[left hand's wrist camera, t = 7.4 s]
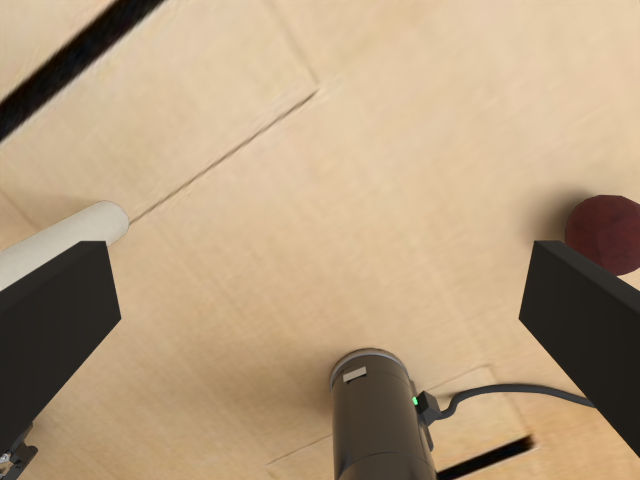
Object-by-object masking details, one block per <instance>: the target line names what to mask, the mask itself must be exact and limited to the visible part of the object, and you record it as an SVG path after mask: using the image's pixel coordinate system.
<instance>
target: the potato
mask: <svg viewBox="0 0 640 480" xmlns="http://www.w3.org/2000/svg"><path fill="white" fill-rule="evenodd" d="M565 245H567V246H569V247H570V248H572V249H573V250H575V251H576V252H578V253H580V254H581V255H583V256H584V257H586V258H588V259H589V260H591V261H592V262H594V263H596V264H597V265H599V266H600V267H602V268H604V269H605V270H607V271H608V272H610V273H612V274H613V275H615V276H619V275H625V274H628V273H630V272H633V271H635V270H636V269H638V268H640V204H638V203H636V202H634V201H632V200H629V199H627V198H625V197H623V196H615V195H598V196H595V197H592V198H588V199H586V200H584V201H583V202H582V203H580V204H579V205H578V206H576V208H575V209H574V210H573V212H572V213H571V215H570V217H569V220H568V223H567V226H566V229H565Z"/></svg>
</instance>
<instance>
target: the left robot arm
mask: <svg viewBox="0 0 640 480" xmlns="http://www.w3.org/2000/svg"><path fill="white" fill-rule="evenodd" d="M120 320H121V314H120V309H119V304H118V299H117V294H116V289H115V284H114V279H113V274H112V269H111V265H110V260H109V255H108V250H107V245H106V241H79V242H78V243H76V244H75V245H73V246H71V247H70V248H68V249H67V250H65V251H64V252H62V253H60V254H59V255H57V256H56V257H54V258H52V259H51V260H49V261H48V262H46V263H44V264H43V265H41V266H40V267H38V268H36V269H35V270H33V271H32V272H30V273H28V274H27V275H25V276H24V277H22V278H21V279H19V280H17V281H16V282H14V283H13V284H11V285H9V286H8V287H6V288H5V289H3V290H1V291H0V458H1V457H2V456H3V454H4V453H5V452H6V451H7V450H8V449H9V448H10V446H11V445H12V444H13V443H14V442H15V441H16V440H17V438H18V437H19V436H20V435H21V434H22V433H23V431H24V430H25V429H26V428H27V427H28V426H29V425H30V423H31V422H32V421H33V420H34V419H35V418H36V416H37V415H38V414H39V413H40V412H41V411H42V410H43V408H44V407H45V406H46V405H47V404H48V403H49V402H50V400H51V399H52V398H53V397H54V396H55V395H56V393H57V392H58V391H59V390H60V389H61V388H62V387H63V385H64V384H65V383H66V382H67V381H68V380H69V379H70V377H71V376H72V375H73V374H74V373H75V372H76V370H77V369H78V368H79V367H80V366H81V365H82V364H83V362H84V361H85V360H86V359H87V358H88V357H89V356H90V354H91V353H92V352H93V351H94V350H95V349H96V347H97V346H98V345H99V344H100V343H101V342H102V341H103V339H104V338H105V337H106V336H107V335H108V334H109V333H110V331H111V330H112V329H113V328H114V327H115V326H116V324H117V323H118V322H119V321H120ZM519 320H520V321H521V322H522V323H523V324H524V326H525V327H526V328H527V329H528V330H529V331H530V333H531V334H532V335H533V336H534V337H535V338H536V339H537V341H538V342H539V343H540V344H541V345H542V346H543V347H544V349H545V350H546V351H547V352H548V353H549V354H550V356H551V357H552V358H553V359H554V360H555V361H556V362H557V364H558V365H559V366H560V367H561V368H562V369H563V370H564V372H565V373H566V374H567V375H568V376H569V377H570V379H571V380H572V381H573V382H574V383H575V384H576V385H577V387H578V388H579V389H580V390H581V391H582V392H583V393H584V395H585V396H586V397H587V398H588V399H589V400H590V402H591V403H592V404H593V405H594V406H595V407H596V408H597V410H598V411H599V412H600V413H601V414H602V415H603V416H604V418H605V419H606V420H607V421H608V422H609V423H610V425H611V426H612V427H613V428H614V429H615V430H616V431H617V433H618V434H619V435H620V436H621V437H622V438H623V440H624V441H625V442H626V443H627V444H628V445H629V446H630V448H631V449H632V450H633V451H634V452H635V453H636V454H637V456H638V457H639V458H640V291H639V290H637V289H635V288H634V287H632V286H631V285H629V284H627V283H626V282H624V281H623V280H621V279H619V278H618V277H616V276H615V275H613V274H612V273H610V272H608V271H607V270H605V269H604V268H602V267H600V266H599V265H597V264H596V263H594V262H592V261H591V260H589V259H588V258H586V257H584V256H583V255H581V254H580V253H578V252H576V251H575V250H573V249H572V248H570V247H569V246H567V245H565V244H564V243H562V242H561V241H534V245H533V250H532V255H531V260H530V265H529V269H528V274H527V279H526V284H525V289H524V294H523V299H522V304H521V309H520V314H519Z"/></svg>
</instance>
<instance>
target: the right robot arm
mask: <svg viewBox="0 0 640 480" xmlns="http://www.w3.org/2000/svg"><path fill="white" fill-rule="evenodd" d="M330 390H331V398H332V428H333V454H334V480H439V479H438V475H437V472H436V469H435V465H434V462H433V459H432V456H431V451H432V450H433V442H432V439H431V435H430V432H429V429H428V426H429V425H430V424H432V423H433V422H434V421H435V420H441V419H445V418H448V417H450V416H451V415H453V414H454V412H455V410H456V407H457V404H458V403H459V402H460V401H462V400H464V399H467V398H469V397H472V396H475V395H479V394H484V393H492V392H530V393H541V394H547V395H552V396H555V397H559V398H562V399H565V400H568V401H572V402H575V403H578V404H582V405H585V406H589V407H593V408H596V407H595V406H594V405H593V404H592V403H591V402H590V400H589V399H585V398H582V397H579V396H575V395H572V394H569V393H566V392H563V391H560V390H556V389H552V388H547V387H541V386H533V385H491V386H484V387H480V388H475V389H470V390H467V391H464V392H461V393H459V394H457V395H455V396H454V397H453V398H452V400H451V402H450V405H449V407H448V408H447V409H446V410H444V411H440V409H439V406H438V403H437V401H436V398H435V397H433V396H432V395H430V394H428V393H427V392H425V391H423V392H422V393H421V394H420V395H417V392H416V389H415V385H414V382H413V381H411V380H410V379H409V377H408V374H407V370H406V368H405V366H404V365H403V363H402V362H401V361H400V360H399V359H398V358H397V357H396V356H394V355H392V354H391V353H388V352H386V351H383V350H378V349H364V350H359V351H355V352H353V353H350V354H348V355H347V356H345V357H344V358H342V359H341V360H340V361H339V362H338V363H337V364H336V366H335V367H334V369H333V371H332V373H331V377H330ZM596 409H597V408H596ZM32 427H33V423H32V422H31V423H30V425H29V426H28V427H27V428H26V429H25V430H24V431H23V433H22V434H21V435H20V436H19V437H18V438H17V440H16V441H15V442H14V443H13V444H12V445H11V446H10V448H9V449H8V450H7V451H6V452H5V453H4V454H3V456H2V457H1V458H0V463H3V462H7V461H10V462H12V463H13V464H9V466H8V467H3V468H2V469H0V480H16V479H17V478H18V477H19V475H20V474H21V473H22V472H23V470H24V469H25V468H26V466H27V465H28V464H29V463H30V461H31V460H32V459H33V457H34V456H35V455H36V454H37V452H38V449H37V448H36V447H35V446H28V447H27V446H26V445H25V443H24V442H25V438H26V436H27V435H28V433H29V431H30V430H31V428H32Z"/></svg>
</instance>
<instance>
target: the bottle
mask: <svg viewBox="0 0 640 480" xmlns="http://www.w3.org/2000/svg"><path fill="white" fill-rule="evenodd" d="M128 227H129V220H128V217H127V215H126V213H125V211H124V210H123V209H122V208H121V207H120V206H118V205H117V204H115V203H113V202H109V201H100V202H97V203H95V204H93V205H91V206H89V207H87V208H85V209H83V210H81V211H79V212H77V213H75V214H73V215H71V216H69V217H67V218H66V219H64V220H62V221H60V222H58V223H56V224H54V225H52V226H50V227H48V228H46V229H44V230H42V231H40V232H38V233H36V234H34V235H32V236H30V237H28V238H26V239H24V240H22V241H20V242H18V243H16V244H14V245H12V246H10V247H8V248H6V249H4V250H2V251H0V291H1V290H3V289H5V288H6V287H8V286H9V285H11V284H13V283H14V282H16V281H17V280H19V279H21V278H22V277H24V276H25V275H27V274H28V273H30V272H32V271H33V270H35V269H36V268H38V267H40V266H41V265H43V264H44V263H46V262H48V261H49V260H51V259H52V258H54V257H56V256H57V255H59V254H60V253H62V252H64V251H65V250H67V249H68V248H70V247H71V246H73V245H75V244H76V243H78V242H79V241H106V245H107V247H109V246H110V245H111V244H113V243H114V242H115V241H117V240H118V239H119V238H121V237H122V236H123V235H124V234H125V233H126V232H127V230H128Z"/></svg>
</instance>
